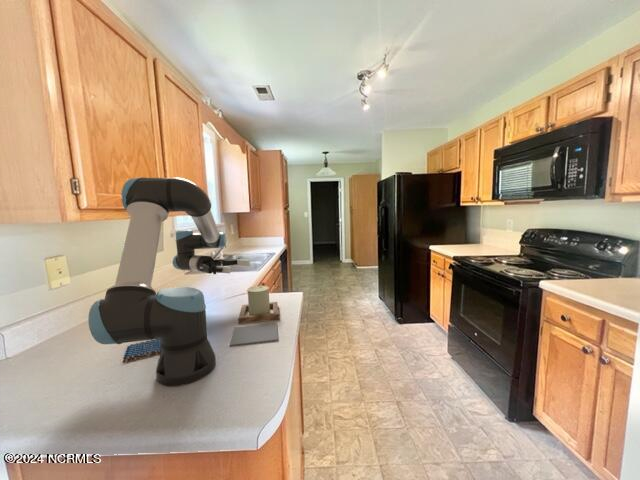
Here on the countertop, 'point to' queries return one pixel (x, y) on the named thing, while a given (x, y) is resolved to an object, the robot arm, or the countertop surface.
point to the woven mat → (142, 350)
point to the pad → (254, 334)
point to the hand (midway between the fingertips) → (240, 266)
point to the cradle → (258, 317)
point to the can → (258, 300)
